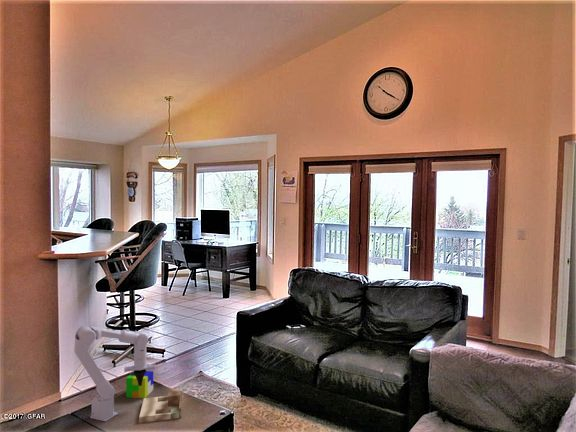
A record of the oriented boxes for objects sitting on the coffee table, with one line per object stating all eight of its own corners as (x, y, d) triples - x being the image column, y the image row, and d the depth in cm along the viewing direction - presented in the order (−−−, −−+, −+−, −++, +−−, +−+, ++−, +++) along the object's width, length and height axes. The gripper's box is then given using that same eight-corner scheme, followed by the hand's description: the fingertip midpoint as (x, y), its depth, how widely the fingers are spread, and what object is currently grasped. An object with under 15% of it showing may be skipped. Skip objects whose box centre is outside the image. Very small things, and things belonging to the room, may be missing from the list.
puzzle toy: (153, 389, 217) (153, 371, 217) (144, 398, 207) (144, 378, 207) (135, 388, 218) (135, 370, 218) (126, 397, 208) (126, 378, 208)
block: (167, 406, 192) (167, 396, 192) (168, 402, 197) (168, 391, 197) (178, 405, 194) (178, 395, 194) (179, 401, 198) (179, 390, 198)
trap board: (139, 422, 183) (139, 412, 183) (144, 403, 201) (144, 394, 201) (181, 417, 187) (181, 408, 187) (182, 399, 206) (182, 390, 206)
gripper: (156, 353, 204) (156, 380, 204) (125, 355, 200) (125, 382, 201) (155, 358, 197) (155, 386, 197) (123, 360, 194) (123, 389, 194)
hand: (140, 384), depth 198 cm, fingers closed
